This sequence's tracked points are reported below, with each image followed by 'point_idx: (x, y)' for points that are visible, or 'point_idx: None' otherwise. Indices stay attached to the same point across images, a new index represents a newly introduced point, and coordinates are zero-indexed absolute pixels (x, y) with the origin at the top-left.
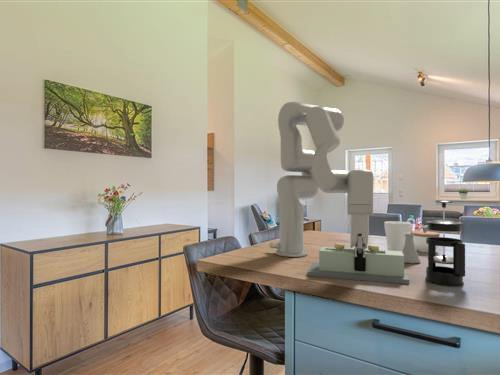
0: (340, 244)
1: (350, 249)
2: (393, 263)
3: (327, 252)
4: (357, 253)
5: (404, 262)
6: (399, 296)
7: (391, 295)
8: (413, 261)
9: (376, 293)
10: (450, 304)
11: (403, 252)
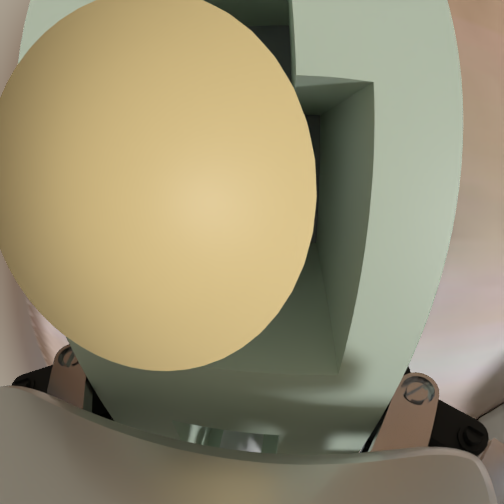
0: (58, 248)
1: (336, 366)
2: None
3: (36, 31)
4: (28, 376)
5: (478, 420)
6: (51, 360)
7: (44, 345)
8: None
9: (31, 313)
10: None
11: (500, 437)
